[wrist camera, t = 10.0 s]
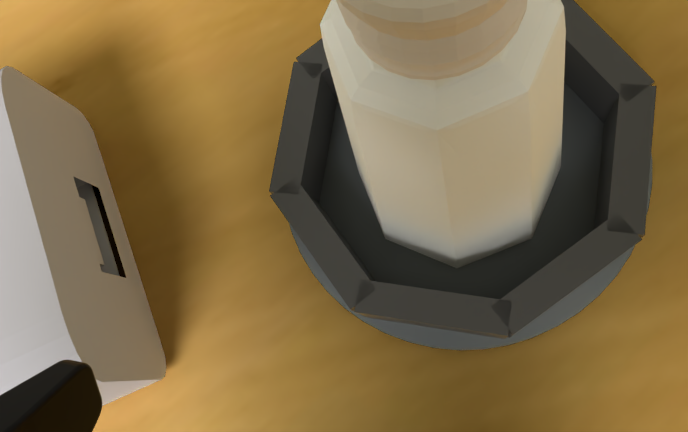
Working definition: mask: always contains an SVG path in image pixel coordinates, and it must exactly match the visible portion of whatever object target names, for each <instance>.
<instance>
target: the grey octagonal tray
mask: <svg viewBox="0 0 688 432" xmlns="http://www.w3.org/2000/svg"><path fill="white" fill-rule="evenodd" d="M561 2H562V4H563V6H564V14H565V27H566V41H565V68H564V96H563V124H562V151H561V168H560V170H559V173H558V175H557V178H556V180H555V183H554V185H553V188H552V190H551V192H550V195H549V197H548V200H547V202H546V205H545V207H544V210H543V212H542V215H541V217H540V219H539V222H538V224H537V227H536V229H535V232H534V234H533V237H532V239H529V240H527V241H524V242H522V243H519V244H517V245H514V246H512V247H509V248H507V249H504V250H502V251H499V252H497V253H494V254H492V255H489V256H487V257H484V258H482V259H479V260H477V261H474V262H472V263H469V264H467V265H464V266H462V267H459V268H455V267H452V266H450V265H447V264H445V263H443V262H440V261H438V260H435V259H433V258H430V257H428V256H425V255H423V254H421V253H418V252H416V251H413V250H411V249H408V248H406V247H404V246H401V245H399V244H396V243H394V242H391V241H389V240H386V239H385V237H384V234H383V232H382V229H381V227H380V224H379V222H378V219H377V217H376V214H375V212H374V209H373V206H372V204H371V201H370V199H369V196H368V194H367V191H366V189H365V186H364V184H363V181H362V179H361V176H360V174H359V171H358V168H357V164H356V160H355V157H354V153H353V150H352V146H351V143H350V139H349V136H348V132H347V128H346V125H345V121H344V118H343V114H342V111H341V107H340V103H339V100H338V96H337V93H336V89H335V86H334V82H333V78H332V75H331V71H330V68H329V64H328V61H327V57H326V54H325V50H324V46H323V40H322V39H320V40H319V41H318V42H317V43H315V44H314V45H313V46H311V47H310V48H309V49H307V50H306V51H305V52H303V53H302V54H301V55H300V56H298V57H297V58H296V59H297V60H298V62H294V64H293V69H292V74H291V79H290V85H289V90H288V95H287V100H286V106H285V111H284V116H283V121H282V127H281V132H280V137H279V142H278V148H277V153H276V158H275V163H274V169H273V174H272V179H271V184H270V189H269V192H271V193H272V195H270V196H271V198H272V199H273V201H274V202H275V203H276V205H277V206H278V208H279V209H280V211H281V212H282V213H283V215H284V216H285V218H286V219H287V220H288V222H289V224H290V228H291V231H292V234H293V237H294V239H295V241H296V244H297V246H298V248H299V251H300V253H301V255H302V257H303V258H304V260H305V262H306V263H307V265H308V267H309V268H310V270H311V271H312V273H313V274H314V276H315V277H316V278H317V279H318V281H319V282H320V283H321V284H322V286H323V287H324V288H325V289H326V291H327V292H328V293H329V294H330V295H331V296H332V297H334V298H335V299H336V300H337V301H338V302H339V303H340V304H341V305H342V306H343V307H344V308H345V309H347V310H348V311H350V312H351V313H352V314H354V315H355V316H357V317H358V318H359V319H361V320H362V321H363V322H365V323H367V324H369V325H371V326H373V327H375V328H377V329H378V330H380V331H382V332H384V333H386V334H389V335H392V336H394V337H397V338H400V339H402V340H405V341H408V342H411V343H415V344H419V345H424V346H428V347H432V348H440V349H450V350H483V349H489V348H495V347H501V346H507V345H511V344H514V343H517V342H520V341H524V340H527V339H530V338H533V337H535V336H537V335H539V334H541V333H544V332H546V331H548V330H550V329H552V328H554V327H557V326H558V325H560V324H561V323H563V322H565V321H566V320H568V319H569V318H571V317H572V316H574V315H576V314H577V313H579V312H580V311H581V310H582V309H584V308H585V307H586V306H587V305H588V304H590V303H591V302H592V301H593V300H594V299H595V298H597V297H598V296H599V295H600V294H601V293H602V292H603V290H604V289H605V288H606V287H607V286H608V285H609V284H610V283H611V281H612V280H613V279H614V278H615V277H616V276H617V274H618V273H619V271H620V270H621V268H622V267H623V265H624V264H625V262H626V261H627V259H628V258H629V256H630V255H631V252H632V250H633V248H634V246H635V245H636V244H637V243H638V242H640V241H641V240H642V239H641V237H643V236H644V235H645V224H646V215H647V211H648V208H649V201H650V195H651V188H652V154H651V148H652V135H653V123H654V110H655V97H656V86H652V85H653V83H654V82H655V81H654V80H653V79H652V78H651V77H650V76H649V75H648V74H647V73H646V72H645V71H644V70H643V69H642V68H641V67H640V66H639V65H638V64H637V63H636V62H635V61H634V60H633V59H632V58H631V57H630V56H629V55H628V54H627V53H626V52H625V51H624V50H623V49H622V48H621V47H620V46H619V45H618V44H617V43H616V42H615V41H614V40H613V39H612V38H611V37H610V36H609V35H608V34H607V33H606V32H605V31H604V30H603V29H602V28H601V27H600V26H599V25H598V24H597V23H596V22H595V21H594V20H593V19H592V18H591V17H590V16H589V15H588V14H587V13H586V12H585V11H584V10H583V9H582V8H581V7H580V6H579V5H578V4H577V3H576V2H575V1H574V0H561Z"/></svg>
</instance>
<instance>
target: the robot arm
mask: <svg viewBox="0 0 688 432" xmlns="http://www.w3.org/2000/svg"><path fill="white" fill-rule="evenodd" d="M101 409H102V397H101V394H100V391H99V388H98V385H97V382H96V379H95V376H94V373H93V370H92V368H91V366H90V365H88V364H87V363H84V362H78V361H73V360H62V361H59V362H57V363H55V364H54V365H52V366H50V367H48V368H47V369H45V370H43V371H41V372H40V373H38V374H36V375H34V376H33V377H31V378H29V379H27V380H26V381H24V382H22V383H20V384H19V385H17V386H15V387H13V388H12V389H10V390H8V391H7V392H5V393H3V394H1V395H0V432H92V431H93V429H94V427H95V424H96V422H97V420H98V418H99V416H100V413H101Z"/></svg>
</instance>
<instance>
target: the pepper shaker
mask: <svg viewBox="0 0 688 432" xmlns="http://www.w3.org/2000/svg"><path fill="white" fill-rule="evenodd" d="M320 28H321V34H322V40H323V46H324V50H325V54H326V57H327V61H328V64H329V68H330V71H331V75H332V78H333V82H334V86H335V89H336V93H337V96H338V100H339V103H340V107H341V111H342V114H343V118H344V121H345V125H346V128H347V132H348V136H349V139H350V143H351V146H352V150H353V153H354V157H355V160H356V164H357V168H358V171H359V174H360V176H361V179H362V181H363V184H364V186H365V189H366V191H367V194H368V196H369V199H370V201H371V204H372V206H373V209H374V212H375V214H376V217H377V219H378V222H379V224H380V227H381V229H382V232H383V234H384V237H385V239H386V240H389V241H391V242H394V243H396V244H399V245H401V246H404V247H406V248H408V249H411V250H413V251H416V252H418V253H421V254H423V255H425V256H428V257H430V258H433V259H435V260H438V261H440V262H443V263H445V264H447V265H450V266H452V267H455V268H459V267H462V266H464V265H467V264H469V263H472V262H474V261H477V260H479V259H482V258H484V257H487V256H489V255H492V254H494V253H497V252H499V251H502V250H504V249H507V248H509V247H512V246H514V245H517V244H519V243H522V242H524V241H527V240H529V239H532V237H533V234H534V232H535V229H536V227H537V224H538V222H539V219H540V217H541V215H542V212H543V210H544V207H545V205H546V202H547V200H548V197H549V195H550V192H551V190H552V188H553V185H554V183H555V180H556V178H557V175H558V173H559V170H560V168H561V151H562V124H563V96H564V68H565V41H566V27H565V14H564V6H563V4H562V2H561V0H331V1H330V4H329V6H328V8H327V10H326V12H325V14H324V16H323V19H322V21H321V23H320Z"/></svg>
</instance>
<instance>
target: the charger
mask: <svg viewBox="0 0 688 432" xmlns="http://www.w3.org/2000/svg"><path fill="white" fill-rule="evenodd" d="M92 185H93V186H96V187H98V188H99V191H100V194H101V197H102V201H103V204H104V207H105V210H106V213H107V217H108V220H109V223H110V226H111V230H112V233H113V236H114V239H115V242H116V246H117V249H118V252H119V255H120V259H121V262H122V265H123V268H124V271H125V275H126V278H125V277H121V276H120V275H119V272H118V269H117V266H116V262H115V259H114V256H113V253H112V249H111V246H110V243H109V240H108V236H107V233H106V230H105V227H104V223H103V220H102V217H101V214H100V210H99V207H98V204H97V201H96V197H95V194H94V191H93V188H92ZM62 360H73V361H78V362H84V363H87V364H88V365H90V366H91V368H92V370H93V373H94V376H95V379H96V382H97V385H98V388H99V391H100V394H101V397H102V406H103V405H106V404H108V403H110V402H112V401H115V400H117V399H119V398H121V397H123V396H126V395H128V394H130V393H132V392H135V391H137V390H139V389H141V388H144V387H146V386H148V385H150V384H153V383H155V382H157V381H159V380H161V379H163V378H164V377H165V373H166V357H165V354H164V351H163V348H162V344H161V341H160V338H159V335H158V332H157V328H156V325H155V322H154V319H153V316H152V313H151V309H150V306H149V303H148V300H147V297H146V294H145V291H144V287H143V284H142V281H141V278H140V275H139V272H138V269H137V265H136V262H135V259H134V256H133V253H132V250H131V247H130V244H129V240H128V237H127V234H126V231H125V228H124V225H123V222H122V218H121V215H120V212H119V209H118V206H117V203H116V200H115V196H114V193H113V190H112V187H111V184H110V181H109V178H108V175H107V171H106V168H105V165H104V162H103V159H102V156H101V153H100V150H99V147H98V144H97V141H96V138H95V135H94V132H93V129H92V128H91V126H90V124H89V122H88V121H87V119H86V118H85V116H84V115H83V114H82V113H81V112H80V111H79V110H78V109H77V108H76V107H74V106H73V105H71V104H69V103H68V102H66V101H65V100H63V99H62V98H60V97H58V96H57V95H55V94H54V93H52V92H50V91H49V90H47V89H46V88H44V87H43V86H41V85H39V84H38V83H36V82H35V81H33V80H32V79H30V78H28V77H27V76H25V75H24V74H22V73H20V72H19V71H17V70H16V69H14V68H12V67H9V66H6V67H4V68H2V69H0V395H1V394H3V393H5V392H7V391H8V390H10V389H12V388H13V387H15V386H17V385H19V384H20V383H22V382H24V381H26V380H27V379H29V378H31V377H33V376H34V375H36V374H38V373H40V372H41V371H43V370H45V369H47V368H48V367H50V366H52V365H54V364H55V363H57V362H59V361H62Z"/></svg>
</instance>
